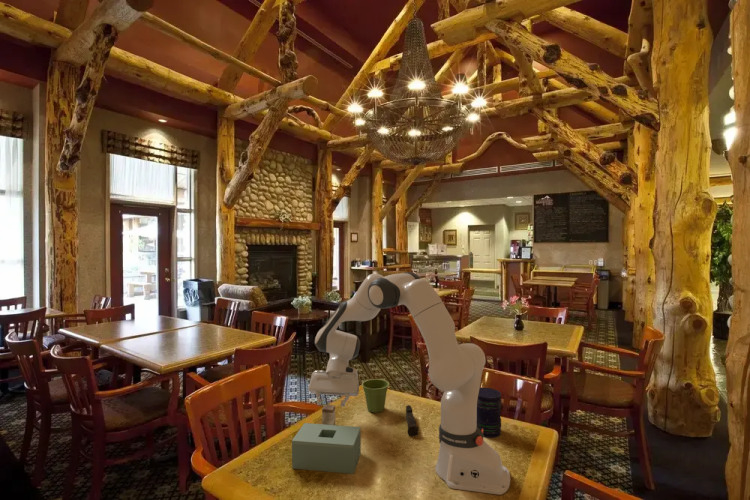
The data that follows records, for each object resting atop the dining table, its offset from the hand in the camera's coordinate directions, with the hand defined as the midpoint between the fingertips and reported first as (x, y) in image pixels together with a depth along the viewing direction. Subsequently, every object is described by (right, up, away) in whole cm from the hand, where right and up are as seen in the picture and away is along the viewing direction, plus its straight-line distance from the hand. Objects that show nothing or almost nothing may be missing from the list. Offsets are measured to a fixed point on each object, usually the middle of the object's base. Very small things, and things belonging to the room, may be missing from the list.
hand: (330, 405), depth 151 cm
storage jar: (+60, -9, -3) cm, 61 cm away
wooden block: (0, -9, -4) cm, 10 cm away
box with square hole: (+2, -9, -23) cm, 25 cm away
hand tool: (+31, -9, +2) cm, 32 cm away
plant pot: (+17, -9, +16) cm, 25 cm away
